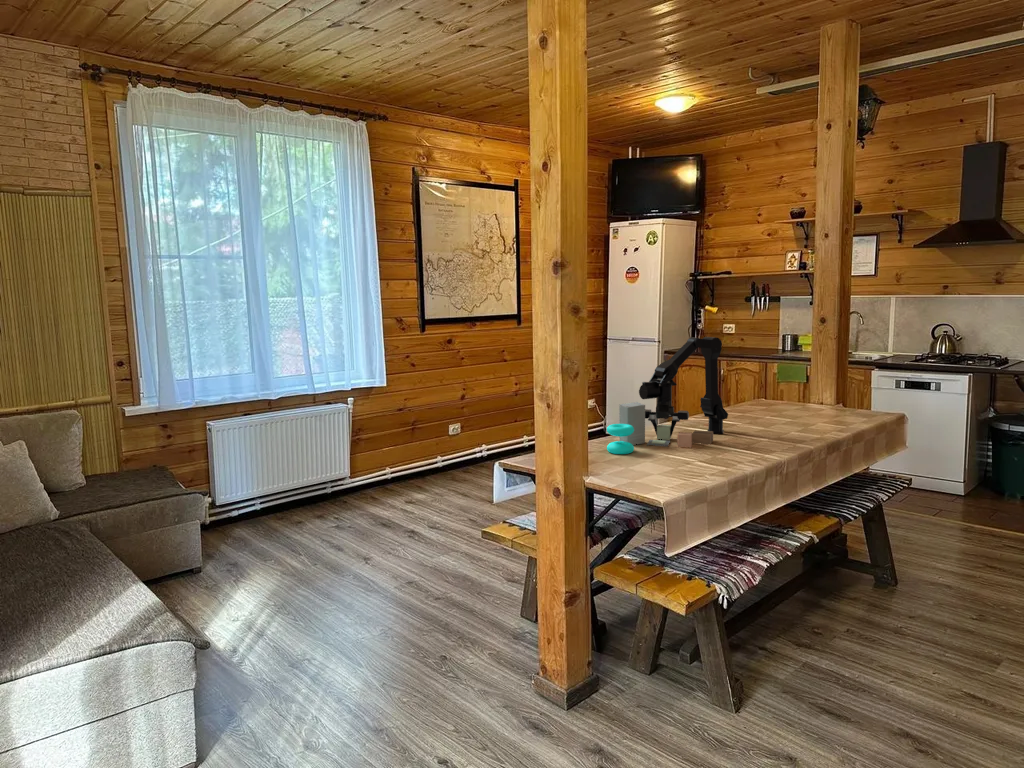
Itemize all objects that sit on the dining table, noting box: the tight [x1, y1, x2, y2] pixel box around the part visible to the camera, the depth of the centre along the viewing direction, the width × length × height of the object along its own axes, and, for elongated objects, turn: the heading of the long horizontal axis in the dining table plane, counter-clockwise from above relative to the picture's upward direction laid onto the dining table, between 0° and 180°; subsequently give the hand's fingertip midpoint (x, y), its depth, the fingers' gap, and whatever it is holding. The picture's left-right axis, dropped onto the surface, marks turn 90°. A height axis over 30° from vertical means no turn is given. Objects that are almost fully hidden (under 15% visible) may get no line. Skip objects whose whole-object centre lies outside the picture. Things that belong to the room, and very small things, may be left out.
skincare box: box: [618, 401, 646, 446], centre depth 275 cm, size 8×7×16 cm
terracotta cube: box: [676, 431, 693, 449], centre depth 269 cm, size 5×5×5 cm
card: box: [646, 439, 671, 447], centre depth 275 cm, size 8×8×1 cm
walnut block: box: [691, 430, 714, 445], centre depth 276 cm, size 7×7×4 cm
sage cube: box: [656, 424, 672, 441], centre depth 283 cm, size 5×5×5 cm
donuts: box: [606, 423, 635, 455], centre depth 262 cm, size 10×10×10 cm
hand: (664, 435), depth 283 cm, fingers closed on sage cube, 5 cm apart
